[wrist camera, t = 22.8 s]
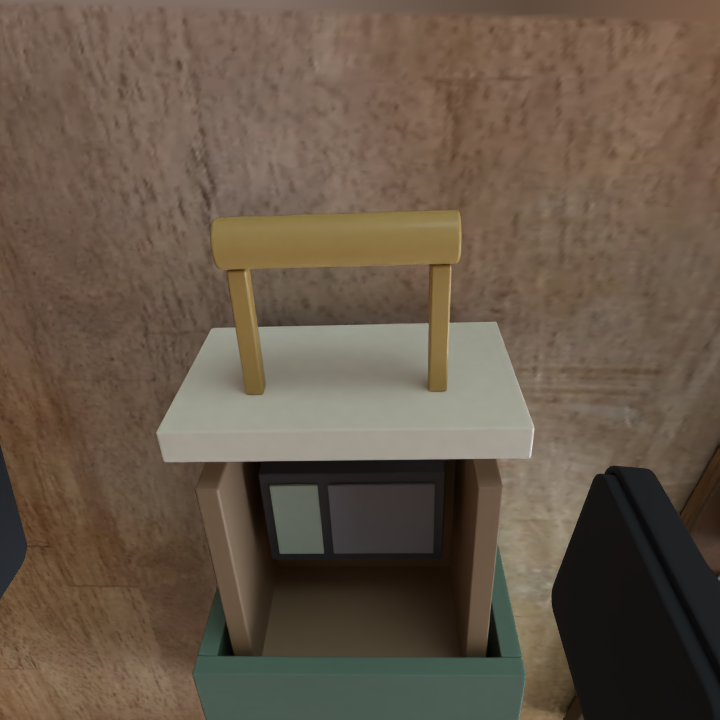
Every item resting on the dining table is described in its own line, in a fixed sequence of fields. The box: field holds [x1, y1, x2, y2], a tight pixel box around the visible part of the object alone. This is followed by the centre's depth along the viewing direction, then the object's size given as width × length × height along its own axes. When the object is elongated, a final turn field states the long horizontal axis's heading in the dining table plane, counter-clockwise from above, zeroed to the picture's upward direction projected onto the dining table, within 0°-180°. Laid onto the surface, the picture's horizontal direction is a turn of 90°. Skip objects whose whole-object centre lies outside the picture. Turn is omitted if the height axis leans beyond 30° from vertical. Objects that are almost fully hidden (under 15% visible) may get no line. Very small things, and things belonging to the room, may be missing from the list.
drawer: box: [156, 210, 534, 658], centre depth 23 cm, size 19×11×7 cm, turn 2°
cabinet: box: [192, 543, 526, 720], centre depth 30 cm, size 15×13×9 cm
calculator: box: [258, 459, 446, 560], centre depth 25 cm, size 7×5×3 cm, turn 92°
